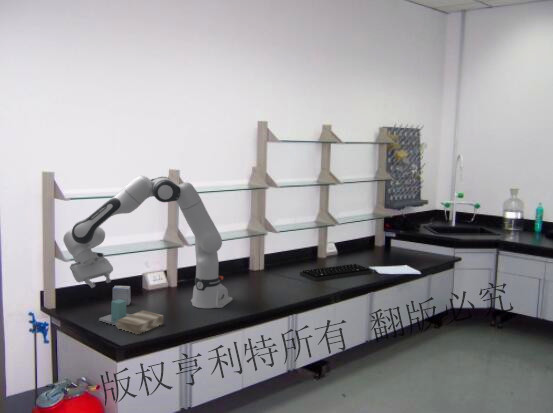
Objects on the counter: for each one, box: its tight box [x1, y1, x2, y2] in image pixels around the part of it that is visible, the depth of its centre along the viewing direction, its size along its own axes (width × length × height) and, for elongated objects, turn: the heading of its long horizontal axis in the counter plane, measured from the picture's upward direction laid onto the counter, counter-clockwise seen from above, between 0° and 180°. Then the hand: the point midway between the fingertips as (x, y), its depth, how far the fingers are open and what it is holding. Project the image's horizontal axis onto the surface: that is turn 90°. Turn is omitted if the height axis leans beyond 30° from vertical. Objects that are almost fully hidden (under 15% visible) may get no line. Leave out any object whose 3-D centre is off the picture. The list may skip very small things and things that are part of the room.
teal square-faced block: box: [110, 299, 127, 320], centre depth 251 cm, size 5×5×8 cm
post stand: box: [98, 312, 132, 327], centre depth 251 cm, size 12×12×6 cm
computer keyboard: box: [299, 263, 373, 282], centre depth 349 cm, size 45×16×4 cm, turn 123°
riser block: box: [116, 309, 164, 335], centre depth 245 cm, size 16×12×4 cm
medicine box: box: [112, 285, 131, 306], centre depth 274 cm, size 8×4×9 cm, turn 92°
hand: (101, 284), depth 255 cm, fingers open, 8 cm apart
